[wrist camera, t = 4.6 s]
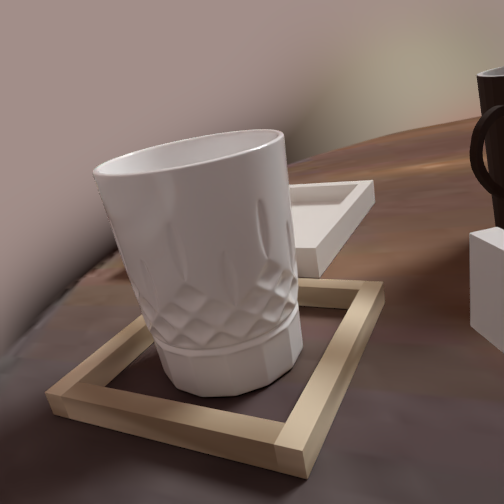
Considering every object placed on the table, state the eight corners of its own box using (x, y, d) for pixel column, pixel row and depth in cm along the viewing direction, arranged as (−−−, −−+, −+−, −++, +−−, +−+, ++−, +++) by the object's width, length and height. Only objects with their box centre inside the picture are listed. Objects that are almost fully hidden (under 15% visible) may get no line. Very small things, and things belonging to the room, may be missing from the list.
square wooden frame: (197, 290, 31) (193, 273, 30) (385, 302, 25) (383, 281, 25) (53, 414, 21) (44, 392, 21) (307, 479, 15) (302, 450, 15)
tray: (227, 207, 48) (223, 188, 48) (375, 202, 41) (373, 180, 41) (133, 269, 36) (126, 245, 36) (319, 277, 29) (315, 248, 29)
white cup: (127, 411, 20) (52, 186, 17) (181, 318, 28) (137, 146, 24) (311, 406, 19) (270, 153, 15) (317, 308, 26) (291, 121, 22)
